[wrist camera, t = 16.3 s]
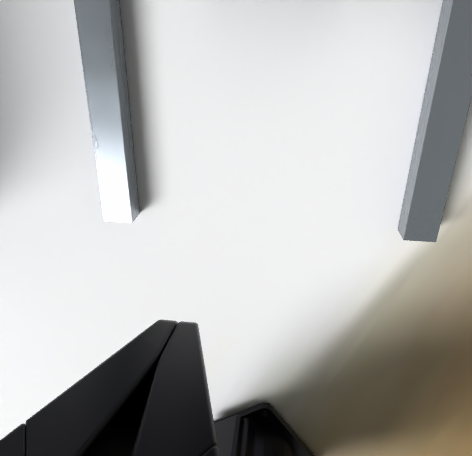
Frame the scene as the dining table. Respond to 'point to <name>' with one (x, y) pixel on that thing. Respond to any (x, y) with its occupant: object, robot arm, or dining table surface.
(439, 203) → the vise base
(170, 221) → the dining table surface
